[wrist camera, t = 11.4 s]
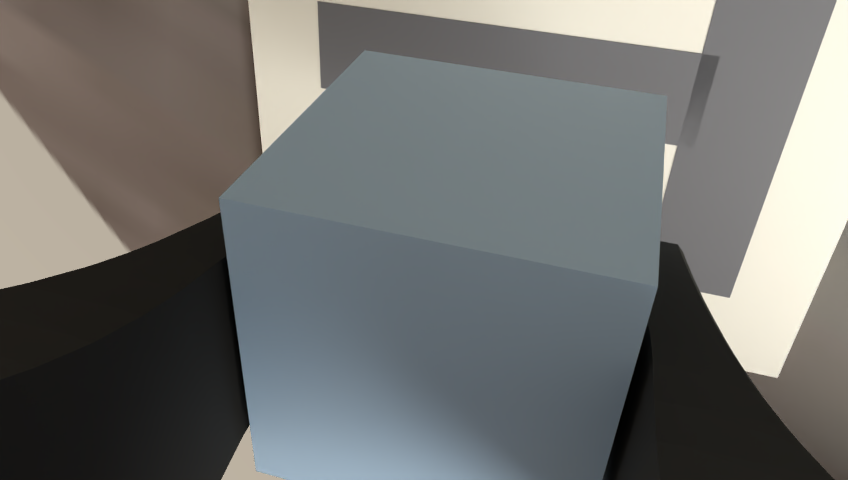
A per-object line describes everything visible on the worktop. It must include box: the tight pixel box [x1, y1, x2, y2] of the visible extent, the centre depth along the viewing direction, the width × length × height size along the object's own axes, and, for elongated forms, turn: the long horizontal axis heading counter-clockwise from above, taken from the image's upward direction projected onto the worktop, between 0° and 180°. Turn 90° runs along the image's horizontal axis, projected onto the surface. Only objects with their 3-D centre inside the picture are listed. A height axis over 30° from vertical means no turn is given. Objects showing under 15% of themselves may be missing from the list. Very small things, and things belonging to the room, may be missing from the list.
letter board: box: [248, 0, 848, 378], centre depth 19 cm, size 16×16×1 cm
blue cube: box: [219, 50, 667, 480], centre depth 12 cm, size 5×5×5 cm
